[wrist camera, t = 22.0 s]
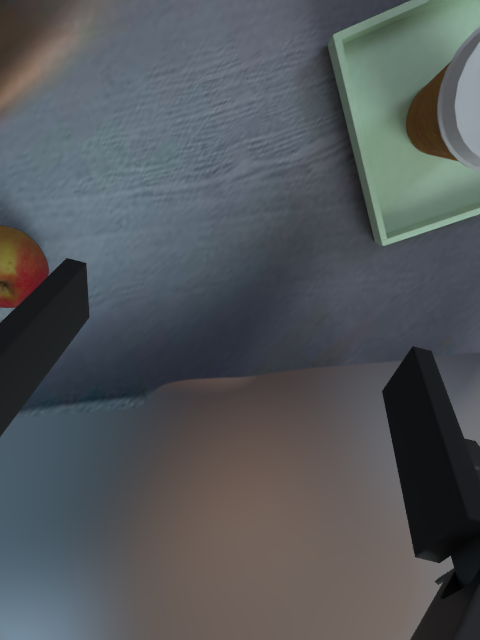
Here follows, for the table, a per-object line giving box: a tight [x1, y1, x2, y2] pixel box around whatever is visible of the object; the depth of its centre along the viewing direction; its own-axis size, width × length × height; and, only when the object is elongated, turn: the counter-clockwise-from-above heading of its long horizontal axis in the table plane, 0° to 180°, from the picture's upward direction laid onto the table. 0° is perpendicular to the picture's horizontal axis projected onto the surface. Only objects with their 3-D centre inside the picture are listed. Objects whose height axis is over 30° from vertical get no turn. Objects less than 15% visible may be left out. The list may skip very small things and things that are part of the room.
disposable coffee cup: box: [406, 27, 480, 172], centre depth 29 cm, size 10×10×12 cm
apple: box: [0, 226, 49, 308], centre depth 38 cm, size 8×8×8 cm
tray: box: [328, 0, 480, 246], centre depth 34 cm, size 18×16×3 cm
